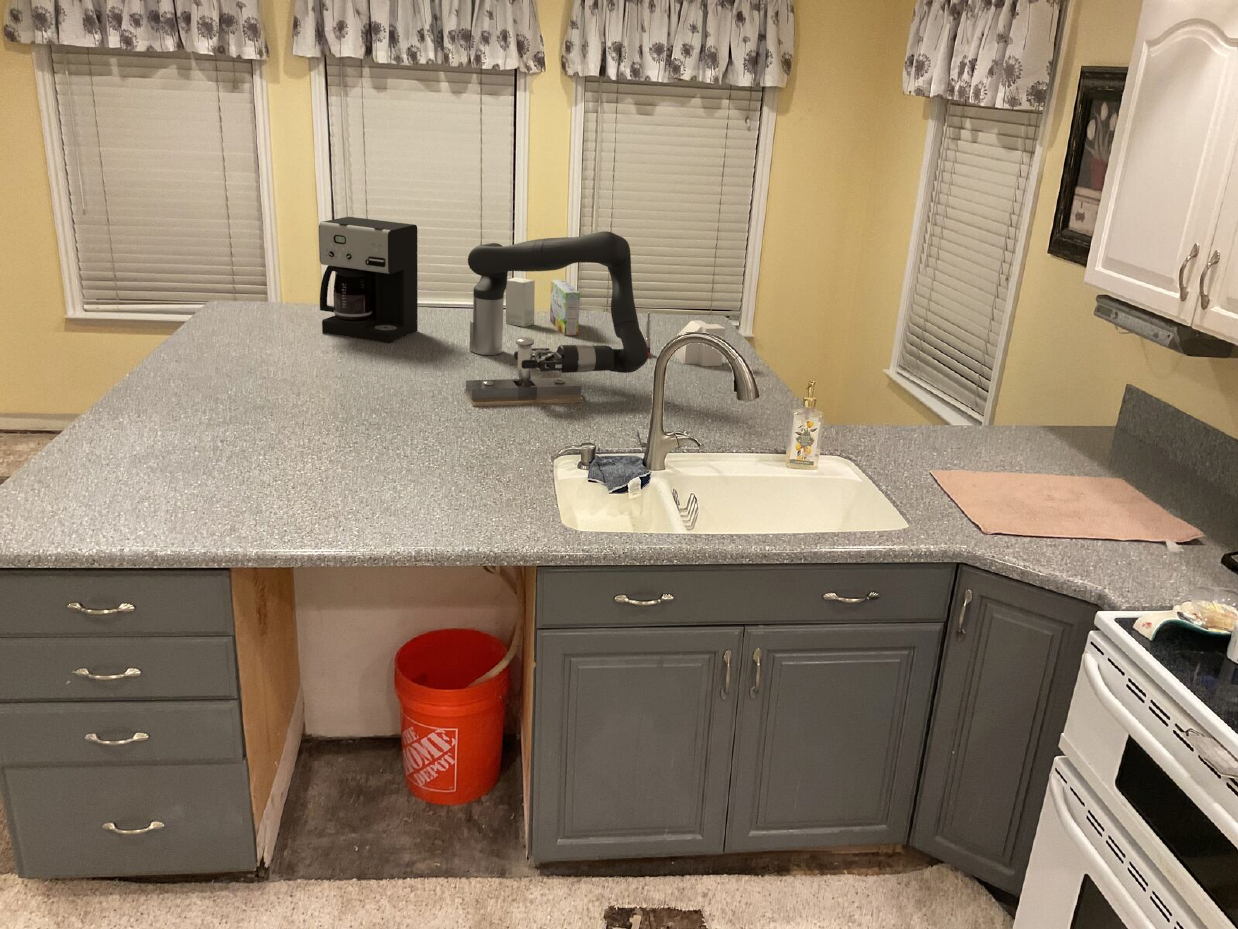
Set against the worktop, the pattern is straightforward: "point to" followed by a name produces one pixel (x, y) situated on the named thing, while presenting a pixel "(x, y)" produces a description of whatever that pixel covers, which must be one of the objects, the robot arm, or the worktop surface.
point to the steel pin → (524, 354)
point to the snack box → (564, 307)
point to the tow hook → (648, 334)
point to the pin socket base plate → (523, 391)
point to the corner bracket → (700, 346)
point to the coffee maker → (369, 278)
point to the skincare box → (520, 302)
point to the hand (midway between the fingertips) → (518, 359)
